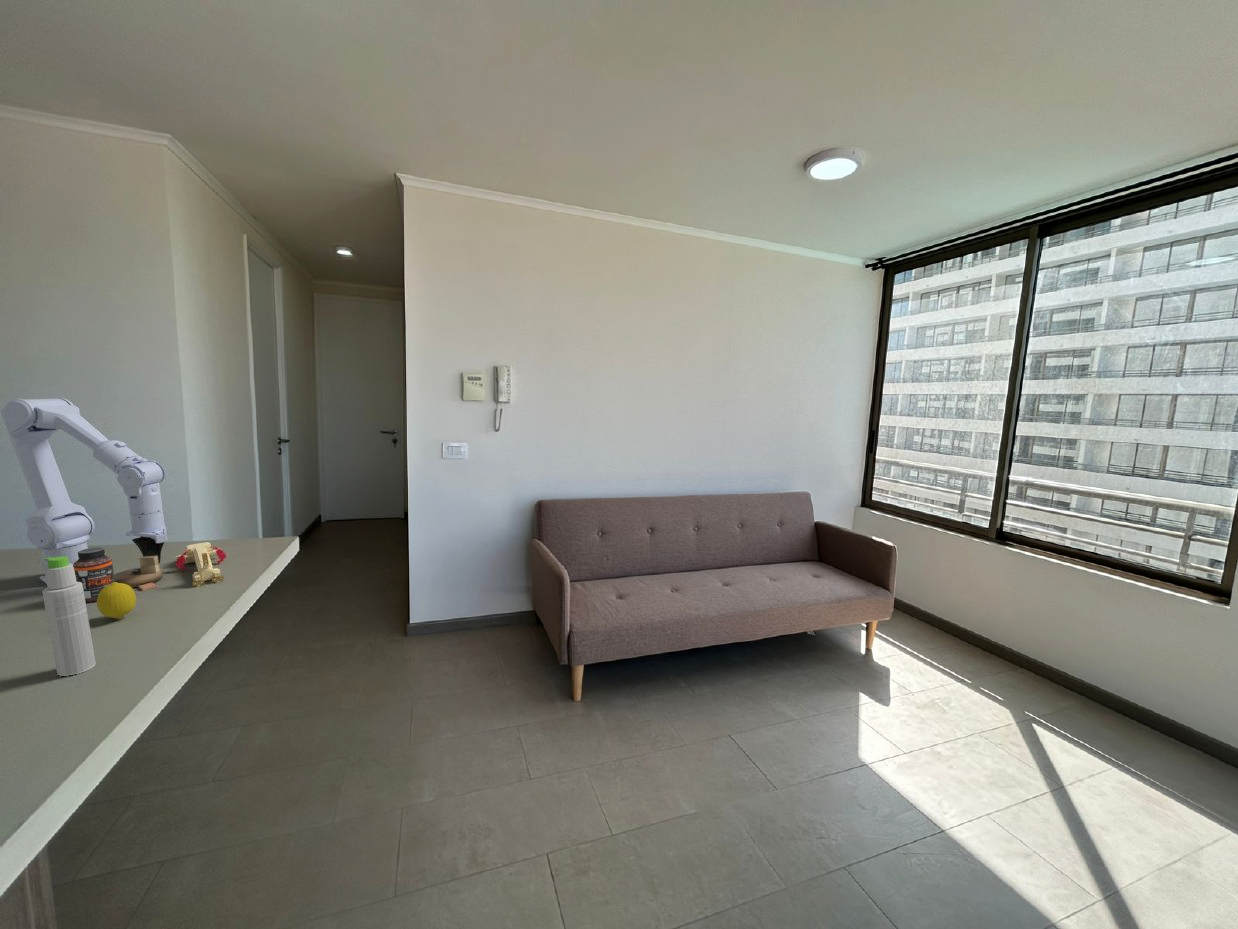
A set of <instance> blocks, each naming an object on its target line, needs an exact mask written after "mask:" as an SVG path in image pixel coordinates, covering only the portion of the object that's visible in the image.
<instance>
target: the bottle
mask: <svg viewBox="0 0 1238 929" xmlns="http://www.w3.org/2000/svg"><path fill="white" fill-rule="evenodd" d="M45 561H48V566H49V567H47V568H46V569H44V574H46V575H45V576H46V582H47V584H46V588H44V589H42V591H41V593H42V598H43V604H44V609H45V613H46V619H47V625H48V630H49V636H50V640H51V641H50V642H51V646H52V650H53V657H54V663H55V668H56V673H57V676H58V675H72V674H77V675H80V674H83V673H85V672H87V671H89V670H91V669H93V668H94V667H96V664H97V663H96V657H95V650H94V644H93V640H92V633H91V627H90V620H89V616H88V610H87V602H85V597H84V591H83V585H82V583H81V582H76V576H75V571H74V568H73V564H71V563H69V562H68V558H67V557H66V556H60V557H54V558H46V559H45ZM82 672H83V673H82ZM79 673H80V674H79Z"/></svg>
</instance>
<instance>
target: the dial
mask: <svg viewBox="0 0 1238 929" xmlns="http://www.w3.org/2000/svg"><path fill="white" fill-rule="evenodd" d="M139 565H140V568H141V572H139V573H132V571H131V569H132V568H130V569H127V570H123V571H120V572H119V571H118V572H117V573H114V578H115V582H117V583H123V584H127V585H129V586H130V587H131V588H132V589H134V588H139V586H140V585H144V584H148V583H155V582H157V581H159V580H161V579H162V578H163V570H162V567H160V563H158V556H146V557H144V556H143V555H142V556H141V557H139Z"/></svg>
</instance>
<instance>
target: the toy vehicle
mask: <svg viewBox="0 0 1238 929" xmlns="http://www.w3.org/2000/svg"><path fill="white" fill-rule="evenodd" d="M215 554H216V555H215ZM216 557H218V559H219V560H217V565H220V564H221V563H222V562H224V560H225V559H226V558H227V554H226V552H224V550H223V549H222V548H218V547H217V546H212V545H211V542H209V541H206V542H198V543H194V544H188V545H186V546H185V552H183V553H182V554H179V555H176V556H175V558H176V560H175V566H176V567H177V568H179V569H180V570H184V571H185V572H186V571H188V569H187V566H185V564H187V563H190V564H191V563H195V566H196V569H197V571H195V572H193V574H192V581H191V584H192V587H196V586H199V585H201V586H202V585H204V584H205V582H206V581H212V583H214V582H215V581H216V582H218V581H224V575H223V574H222V575H221V569H219V568H218V567H216V568H213V564H212V559H216ZM210 579H211V580H210ZM216 582H215V583H216ZM218 583H219V582H218ZM199 587H200V586H199Z"/></svg>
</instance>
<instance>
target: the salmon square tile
mask: <svg viewBox="0 0 1238 929" xmlns="http://www.w3.org/2000/svg"><path fill="white" fill-rule="evenodd" d="M153 588H154V589H155V588H157V584H155V582H153V583H148V584H144V585H140V586H138V589H139V590H141V591H146V590H151V589H153Z"/></svg>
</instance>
